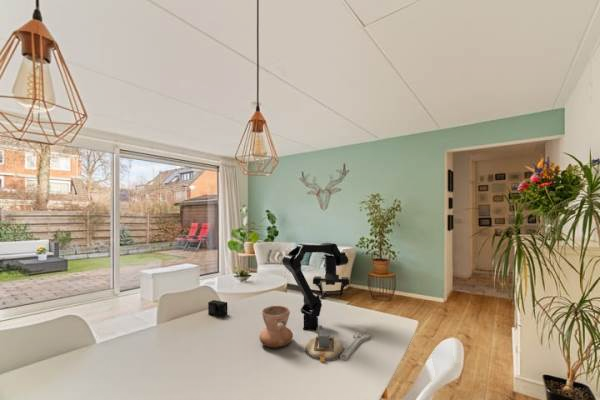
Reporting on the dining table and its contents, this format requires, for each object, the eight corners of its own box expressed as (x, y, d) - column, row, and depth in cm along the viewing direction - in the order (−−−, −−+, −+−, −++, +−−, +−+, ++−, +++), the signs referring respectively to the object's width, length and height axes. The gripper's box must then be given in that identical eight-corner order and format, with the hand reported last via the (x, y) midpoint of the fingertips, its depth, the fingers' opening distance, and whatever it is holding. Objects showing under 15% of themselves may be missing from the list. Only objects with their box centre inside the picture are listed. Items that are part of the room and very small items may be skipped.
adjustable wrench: (345, 362, 103) (345, 358, 103) (331, 357, 107) (330, 353, 107) (371, 337, 123) (371, 333, 124) (358, 333, 127) (358, 330, 127)
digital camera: (206, 315, 153) (206, 302, 153) (213, 312, 158) (213, 299, 158) (220, 318, 148) (220, 305, 149) (227, 314, 153) (227, 302, 154)
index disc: (304, 357, 106) (303, 340, 106) (308, 339, 120) (307, 324, 121) (343, 359, 104) (342, 342, 104) (342, 341, 118) (342, 325, 119)
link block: (318, 348, 109) (318, 335, 110) (320, 341, 115) (319, 329, 116) (328, 349, 109) (328, 336, 109) (329, 342, 115) (329, 329, 115)
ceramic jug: (297, 349, 113) (297, 314, 114) (262, 355, 109) (262, 318, 110) (287, 332, 130) (286, 301, 131) (256, 336, 126) (256, 305, 127)
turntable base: (301, 360, 104) (301, 355, 104) (307, 339, 121) (307, 335, 121) (343, 363, 102) (343, 358, 102) (344, 342, 119) (344, 337, 119)
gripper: (311, 270, 137) (311, 301, 136) (349, 270, 134) (349, 303, 133) (313, 265, 148) (314, 294, 147) (348, 266, 145) (349, 296, 144)
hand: (331, 297), depth 143 cm, fingers open, 9 cm apart
